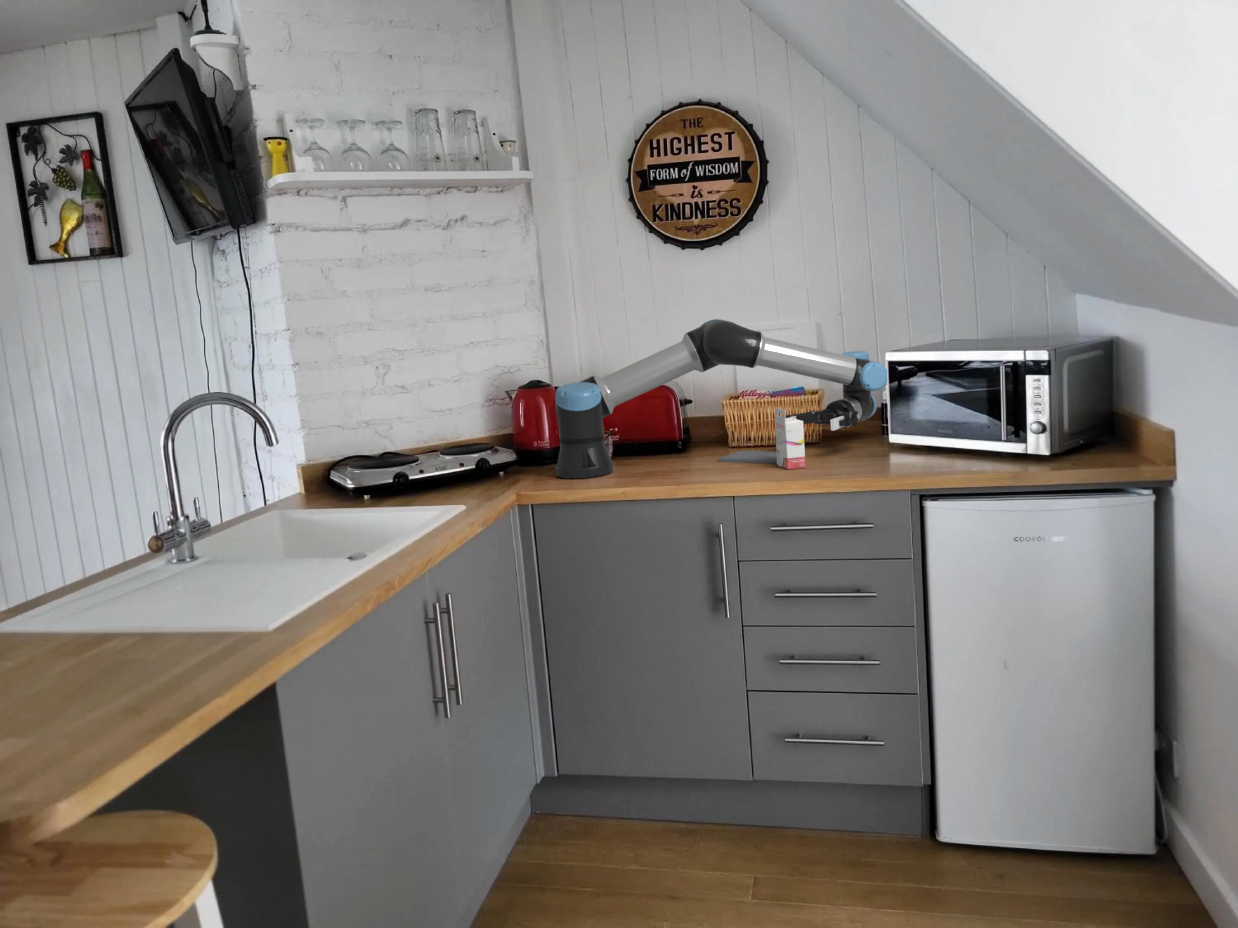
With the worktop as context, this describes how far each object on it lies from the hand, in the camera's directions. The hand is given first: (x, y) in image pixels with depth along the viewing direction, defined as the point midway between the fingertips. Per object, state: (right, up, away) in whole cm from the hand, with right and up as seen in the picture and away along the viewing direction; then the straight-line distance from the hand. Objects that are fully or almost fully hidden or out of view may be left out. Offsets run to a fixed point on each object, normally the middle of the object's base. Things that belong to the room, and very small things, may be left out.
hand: (807, 425), depth 271 cm
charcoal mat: (-11, -9, +9) cm, 17 cm away
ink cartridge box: (-5, -11, -6) cm, 13 cm away
